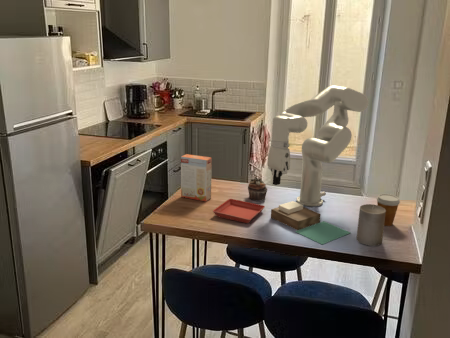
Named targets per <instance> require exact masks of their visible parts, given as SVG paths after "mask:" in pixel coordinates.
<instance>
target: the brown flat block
mask: <svg viewBox="0 0 450 338" xmlns="http://www.w3.org/2000/svg"><path fill="white" fill-rule="evenodd" d="M270 210H271V211H270V219H273V220H274V221H277V222H279V223H281V224H283V225H285V226H288V227H289V228H292V229H294V230H296V231H298V230H300V229H303V228H306V227H309V226H312V225H314V224H317V223H320V222H321V213H320V212H318V211H315V210H313V209H310V208H307V207H306V206H305V207H304V206H303V209H302V210H299V211H296V212H293V213H290V214H288V213H285V212H283V211H281V210H279V206H277V207H274V208H271V209H270Z"/></svg>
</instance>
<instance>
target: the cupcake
mask: <svg viewBox="0 0 450 338" xmlns="http://www.w3.org/2000/svg"><path fill="white" fill-rule="evenodd" d="M247 185H248V186H247V190H248V196H249V199H251V200H253V201H263V200H266V196H267V192H268V188H267V185H266V183H265V182H264V180H263V179H262V178H258V177H254V178H252V179H251V178H250V181H249V183H248V184H247Z"/></svg>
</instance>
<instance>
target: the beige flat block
mask: <svg viewBox="0 0 450 338" xmlns="http://www.w3.org/2000/svg"><path fill="white" fill-rule="evenodd" d="M278 207H279V210H281V211H283V212H285V213H288V214H290V213H293V212H296V211H299V210H302V209H303V207H304V205H302V204H299V203H298V202H297V201H294V200H293V201H292V200H291V201H288V202H285V203H281V204H278Z"/></svg>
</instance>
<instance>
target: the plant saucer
mask: <svg viewBox="0 0 450 338" xmlns="http://www.w3.org/2000/svg"><path fill="white" fill-rule="evenodd" d="M264 209H265V205H261V204H257V203H252V202H248V201H242V200H239V199H233V198H228V199H227V200H225V201H224V202H223V203H221V204H220V205H219V206H217V207H216V208H214V209H213V210H212V212H213V214H214V215H215V216H216V217H218V218H220V219H221V218H222V219H225V220H226V219H227V220H230V221H235V222H239V223H243V224H244V223H245V224H249V223H250V222H251V221H252V220H253V219H255V217H257V216H258V215H259V214H260V213H261V212H262V211H263V210H264Z"/></svg>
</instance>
